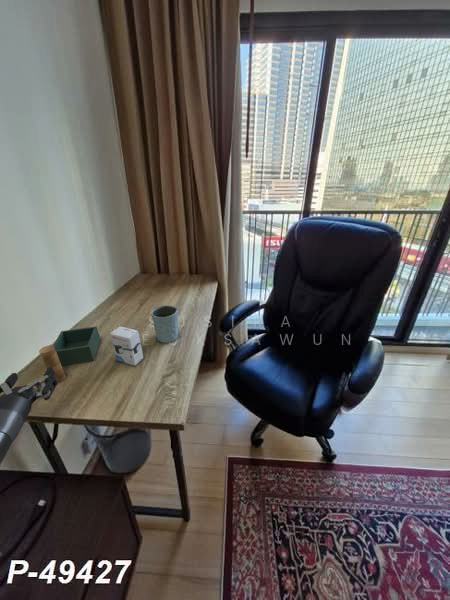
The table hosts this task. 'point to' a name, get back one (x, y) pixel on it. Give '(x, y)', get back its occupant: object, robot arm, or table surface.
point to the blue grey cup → (165, 323)
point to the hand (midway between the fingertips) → (33, 372)
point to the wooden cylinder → (52, 361)
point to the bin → (77, 345)
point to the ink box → (127, 345)
